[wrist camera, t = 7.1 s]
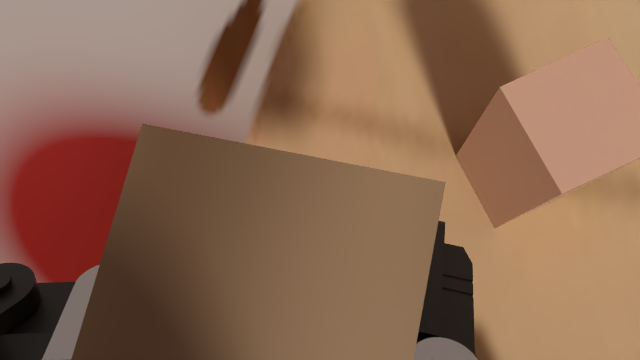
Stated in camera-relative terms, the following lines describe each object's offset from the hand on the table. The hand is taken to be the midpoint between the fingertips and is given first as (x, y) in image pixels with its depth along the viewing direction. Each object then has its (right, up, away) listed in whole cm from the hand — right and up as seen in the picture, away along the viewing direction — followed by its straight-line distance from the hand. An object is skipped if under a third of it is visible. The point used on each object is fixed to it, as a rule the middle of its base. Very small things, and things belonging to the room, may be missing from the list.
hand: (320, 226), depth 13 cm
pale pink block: (+11, +1, +15) cm, 19 cm away
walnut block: (0, -3, +4) cm, 5 cm away
